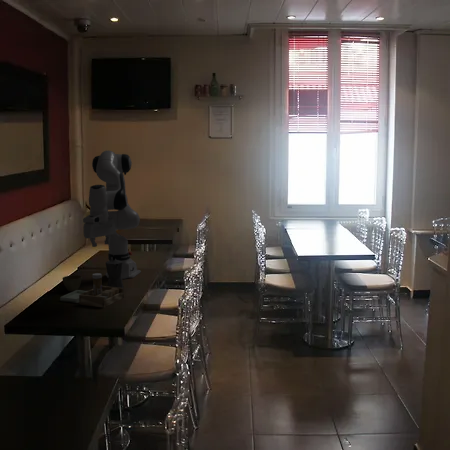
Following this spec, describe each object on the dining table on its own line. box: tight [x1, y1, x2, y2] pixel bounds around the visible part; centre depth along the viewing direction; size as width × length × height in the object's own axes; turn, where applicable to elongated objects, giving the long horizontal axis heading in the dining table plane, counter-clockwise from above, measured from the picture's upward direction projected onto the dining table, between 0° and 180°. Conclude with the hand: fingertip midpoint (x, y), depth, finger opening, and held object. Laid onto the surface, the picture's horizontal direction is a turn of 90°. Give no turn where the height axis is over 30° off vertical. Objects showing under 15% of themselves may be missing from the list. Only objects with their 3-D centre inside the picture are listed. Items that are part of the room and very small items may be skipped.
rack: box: [78, 285, 125, 309], centre depth 278 cm, size 18×14×5 cm
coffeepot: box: [105, 257, 125, 289], centre depth 300 cm, size 15×9×18 cm, turn 25°
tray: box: [59, 289, 88, 304], centre depth 284 cm, size 14×10×2 cm
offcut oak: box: [110, 288, 119, 296], centre depth 282 cm, size 5×4×5 cm
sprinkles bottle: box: [91, 272, 103, 296], centre depth 280 cm, size 5×5×13 cm
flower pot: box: [62, 274, 83, 292], centre depth 299 cm, size 10×10×7 cm
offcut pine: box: [102, 290, 113, 298], centre depth 276 cm, size 4×4×6 cm
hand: (100, 245), depth 276 cm, fingers open, 8 cm apart
